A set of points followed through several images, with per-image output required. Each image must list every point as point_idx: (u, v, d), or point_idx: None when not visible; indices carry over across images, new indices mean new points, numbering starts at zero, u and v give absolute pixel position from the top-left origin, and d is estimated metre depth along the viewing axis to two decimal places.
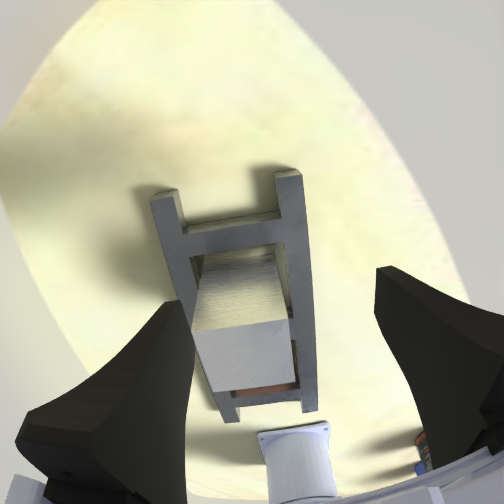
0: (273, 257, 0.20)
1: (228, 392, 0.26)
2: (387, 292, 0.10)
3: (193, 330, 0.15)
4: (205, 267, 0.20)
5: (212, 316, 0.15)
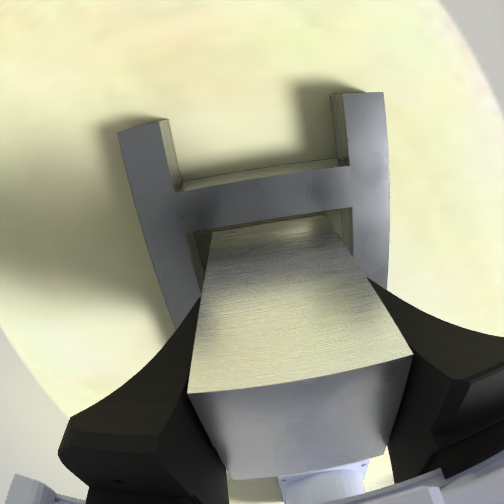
0: (335, 234, 0.11)
1: None
2: None
3: (193, 390, 0.06)
4: (214, 252, 0.11)
5: (237, 354, 0.07)
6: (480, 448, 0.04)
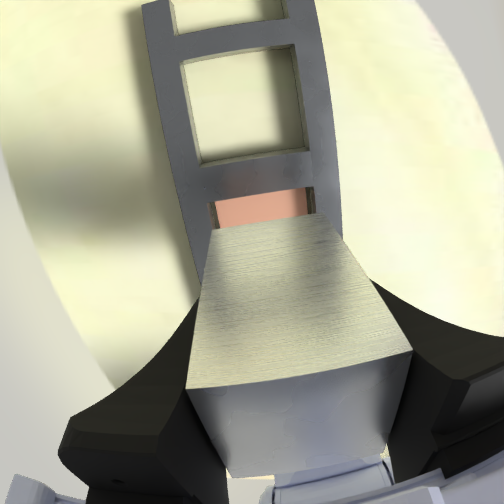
0: (334, 231, 0.11)
1: None
2: None
3: (191, 385, 0.06)
4: (213, 249, 0.11)
5: (236, 350, 0.07)
6: (480, 448, 0.04)
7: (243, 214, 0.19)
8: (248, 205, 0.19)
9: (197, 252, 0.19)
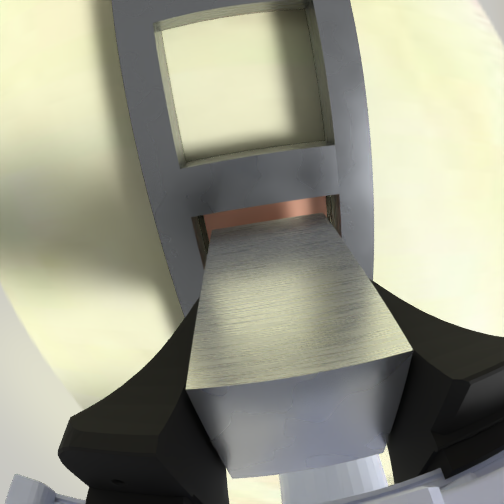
0: (334, 231, 0.11)
1: None
2: None
3: (192, 386, 0.06)
4: (213, 249, 0.11)
5: (236, 350, 0.07)
6: (480, 448, 0.04)
7: None
8: (248, 219, 0.14)
9: (180, 282, 0.14)
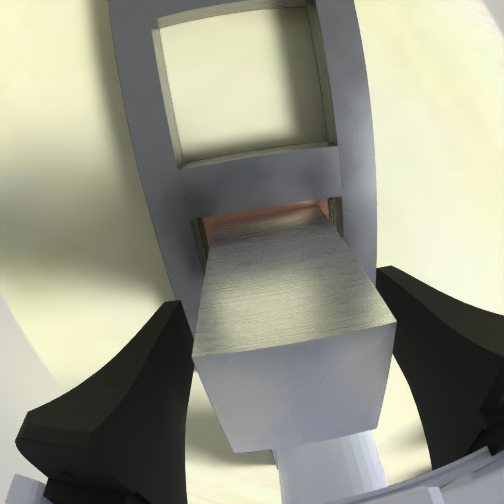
0: (328, 221, 0.12)
1: None
2: (387, 292, 0.10)
3: (197, 354, 0.07)
4: (215, 239, 0.12)
5: (237, 323, 0.07)
6: None
7: None
8: None
9: (179, 286, 0.14)
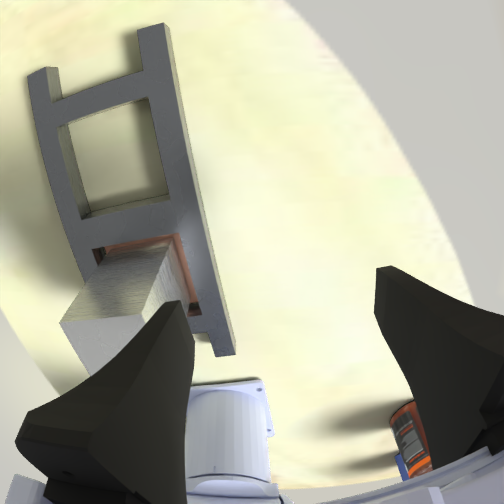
0: (166, 250, 0.18)
1: None
2: (387, 292, 0.10)
3: (61, 321, 0.13)
4: (103, 261, 0.18)
5: (82, 309, 0.14)
6: None
7: None
8: None
9: None
